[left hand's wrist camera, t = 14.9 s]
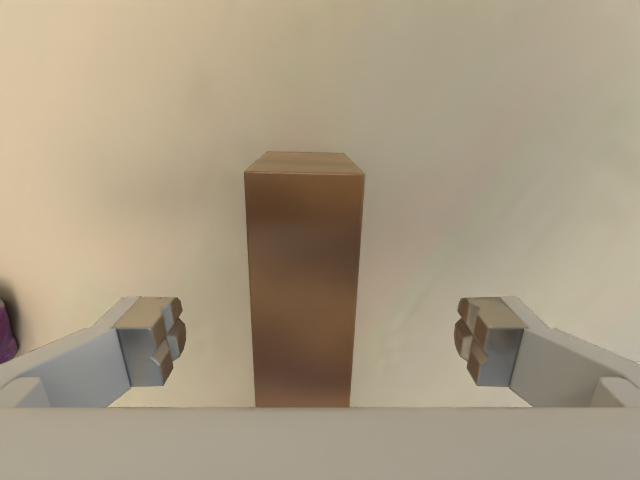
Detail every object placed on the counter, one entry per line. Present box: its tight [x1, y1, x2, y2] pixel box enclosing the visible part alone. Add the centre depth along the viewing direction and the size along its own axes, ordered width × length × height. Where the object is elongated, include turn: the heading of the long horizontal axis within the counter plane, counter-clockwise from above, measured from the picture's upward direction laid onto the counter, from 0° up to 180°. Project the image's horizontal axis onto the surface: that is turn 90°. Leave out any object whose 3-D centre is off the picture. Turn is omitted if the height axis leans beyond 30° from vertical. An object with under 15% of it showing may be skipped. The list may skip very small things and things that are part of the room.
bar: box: [244, 152, 365, 407], centre depth 23 cm, size 28×5×8 cm, turn 179°
